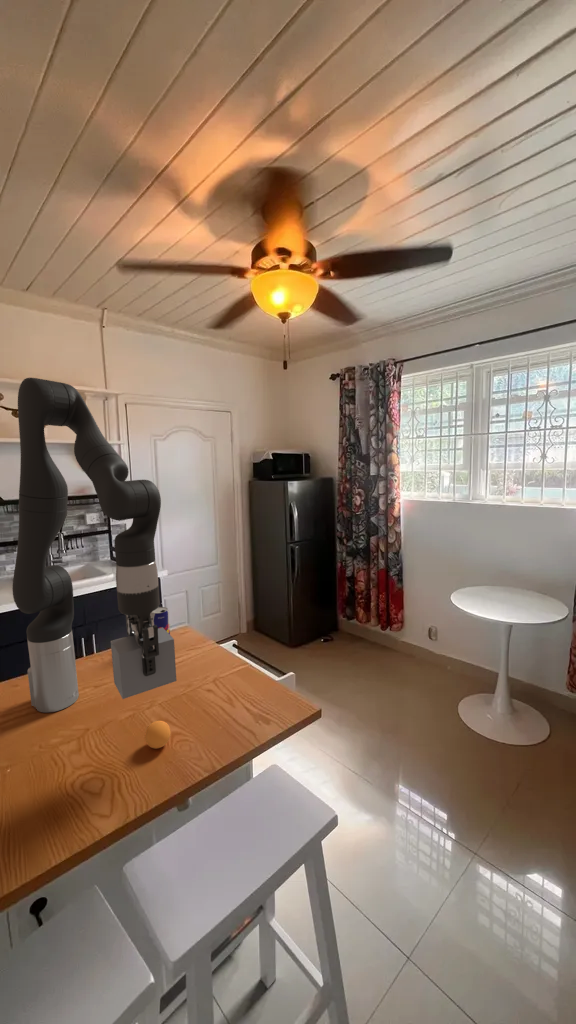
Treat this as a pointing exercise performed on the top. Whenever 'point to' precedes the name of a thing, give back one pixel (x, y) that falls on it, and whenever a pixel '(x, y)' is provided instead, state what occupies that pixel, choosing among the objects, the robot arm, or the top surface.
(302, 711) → the top surface
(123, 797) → the top surface
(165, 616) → the energy drink
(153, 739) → the ball
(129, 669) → the gray tapered block
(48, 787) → the top surface
